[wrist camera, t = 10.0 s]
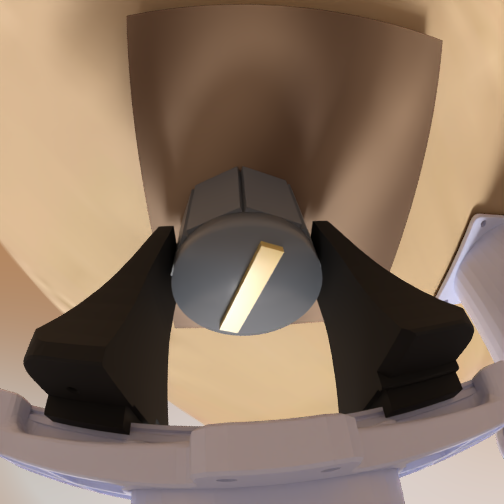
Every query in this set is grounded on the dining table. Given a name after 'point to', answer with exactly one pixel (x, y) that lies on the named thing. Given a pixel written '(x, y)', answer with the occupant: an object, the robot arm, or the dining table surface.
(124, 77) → the dining table surface
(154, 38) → the stud board
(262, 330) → the grey control knob
